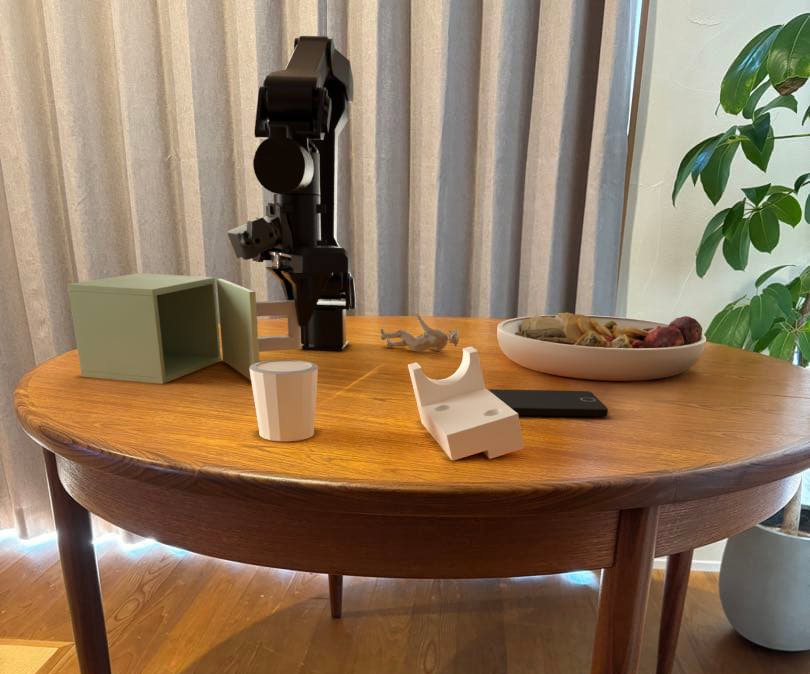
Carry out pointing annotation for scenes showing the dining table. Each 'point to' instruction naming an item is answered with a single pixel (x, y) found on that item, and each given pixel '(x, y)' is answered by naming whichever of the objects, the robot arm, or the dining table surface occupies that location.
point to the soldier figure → (421, 338)
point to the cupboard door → (251, 326)
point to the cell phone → (552, 402)
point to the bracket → (465, 411)
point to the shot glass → (285, 398)
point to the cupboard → (145, 326)
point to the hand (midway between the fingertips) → (300, 325)
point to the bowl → (602, 346)
